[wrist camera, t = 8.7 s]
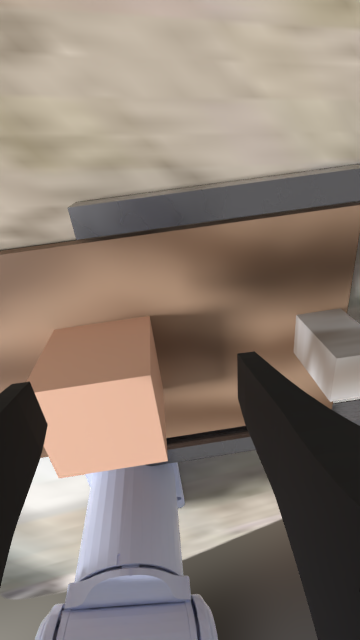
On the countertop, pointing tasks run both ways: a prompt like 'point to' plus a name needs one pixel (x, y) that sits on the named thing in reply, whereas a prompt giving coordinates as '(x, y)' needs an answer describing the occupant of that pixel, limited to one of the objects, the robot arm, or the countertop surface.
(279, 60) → the countertop surface
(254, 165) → the countertop surface
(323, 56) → the countertop surface
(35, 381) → the terracotta block
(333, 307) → the sliding panel with handle
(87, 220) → the guide rails
